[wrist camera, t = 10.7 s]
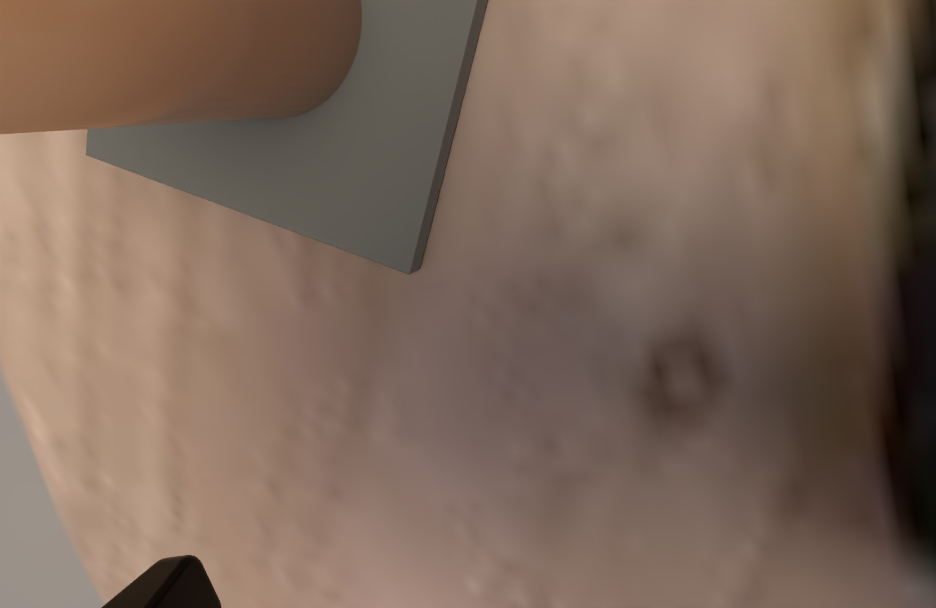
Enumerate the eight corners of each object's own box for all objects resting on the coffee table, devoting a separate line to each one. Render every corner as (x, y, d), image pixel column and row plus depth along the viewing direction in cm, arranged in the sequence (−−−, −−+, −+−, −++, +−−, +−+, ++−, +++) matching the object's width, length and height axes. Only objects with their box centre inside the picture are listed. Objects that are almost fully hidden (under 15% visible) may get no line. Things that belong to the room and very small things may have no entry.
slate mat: (532, -175, 16) (523, -188, 15) (420, 267, 20) (409, 274, 19) (137, -259, 18) (113, -274, 17) (106, 153, 22) (85, 154, 21)
